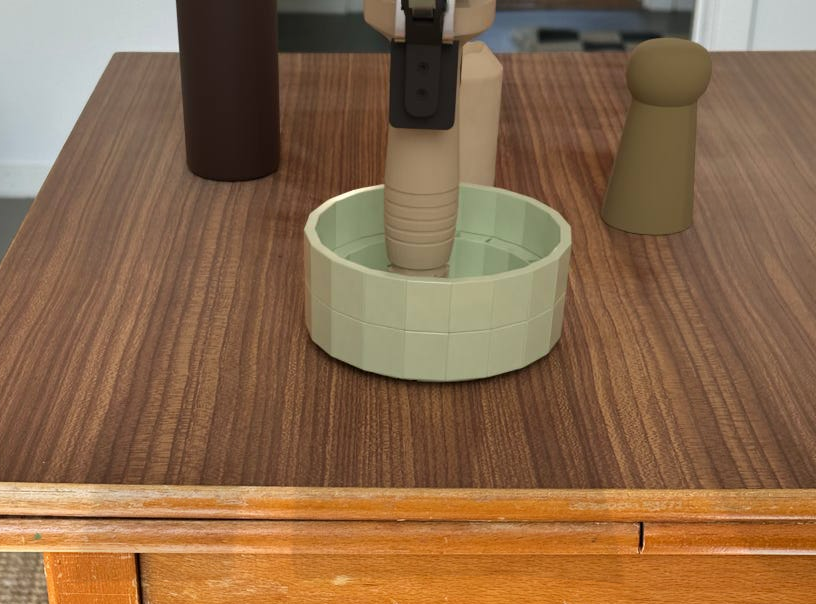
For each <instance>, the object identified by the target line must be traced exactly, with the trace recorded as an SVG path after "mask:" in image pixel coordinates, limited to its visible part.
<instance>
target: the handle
mask: <svg viewBox="0 0 816 604" xmlns="http://www.w3.org/2000/svg"><path fill="white" fill-rule="evenodd" d="M496 7H497V0H456V13H455V29H454V40H459V56H458V74H457V92H456V110H455V122H454V125H453V127H452V128H451V129H449V130H428V129H404V128H394V127H392V126H391V125H390V123H389V122H388V132H387V133H388V134H387V143H386V144H387V145H386V153H385V154H386V156H385V166H384V167H385V168H384V178H383V182H384V183H383V184H384V230H385V243H386V251H387V257H388V259H389V261H390V262H391V265H387V272H389V273H395V274H400V275H405V276H414V277H432V278H448V277H449V270H450V265H448V264H446V263H447V262H448V261H449V260H450V256H451V252H452V248H453V243H454V237H455V231H456V221H457V215H458V204H459V198H458V197H459V183H460V150H459V108H460V65H461V57H462V50H463V46H464V45H465V44H466V43H467V42H468V41H469V42H471V41H472V40H474V39H476V38H477V37H479V36H481V35H483V34H484V33H485V32H487V30H489V29H490V28H491V27H492V26H493V25H494V22H495V19H496V9H497V8H496ZM395 14H396V0H363V18H364V21H365V22H366V23H367V24H368V25H369V26H370V27H372V28H373V29H374V30H376V31H377V32H378V33H380V34H381V35H382V36H383V37H385V38H387V39H388V41H389V42H390V43H391V39H392V38H395ZM443 14H444V12H443Z"/></svg>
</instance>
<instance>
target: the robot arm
mask: <svg viewBox="0 0 816 604" xmlns="http://www.w3.org/2000/svg"><path fill="white" fill-rule="evenodd" d="M443 12H444V14H443ZM455 13H456V0H396V14H395V38H392V39H391V42H390V52H389V53H390V56H389V57H390V58H389V91H388V92H389V97H388V124H389V123H390V125H391V126H392V127H394V128H404V129H428V130H449V129H451V128H452V127H453V125H454V122H455V110H456V92H457V74H458V56H459V40H454V29H455ZM462 55H463V50H462ZM461 72H462V57H461V65H460V85H461Z"/></svg>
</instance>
